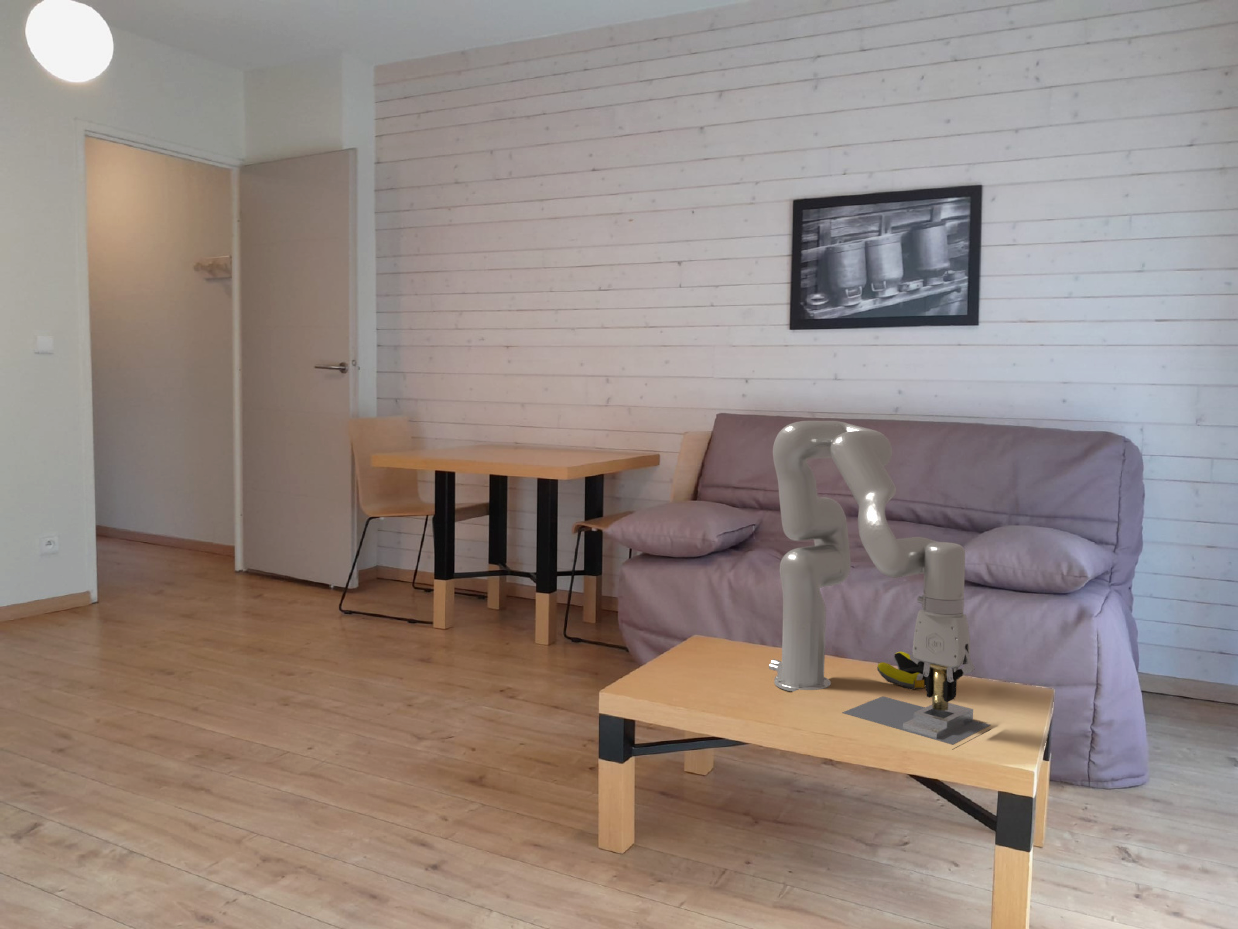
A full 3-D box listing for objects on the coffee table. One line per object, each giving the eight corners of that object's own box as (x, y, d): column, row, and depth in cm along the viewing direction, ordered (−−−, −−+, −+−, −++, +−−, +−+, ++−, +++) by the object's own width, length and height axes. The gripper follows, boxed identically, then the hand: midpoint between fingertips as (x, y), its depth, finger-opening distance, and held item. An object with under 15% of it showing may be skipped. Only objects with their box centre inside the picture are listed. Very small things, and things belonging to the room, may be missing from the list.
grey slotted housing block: (902, 729, 185) (903, 717, 185) (940, 712, 195) (940, 700, 195) (936, 739, 180) (936, 726, 180) (972, 720, 190) (973, 709, 190)
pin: (924, 708, 187) (925, 663, 186) (935, 703, 190) (936, 659, 190) (945, 713, 184) (946, 667, 183) (956, 708, 187) (957, 663, 186)
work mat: (841, 717, 194) (841, 712, 194) (882, 700, 205) (882, 696, 205) (952, 749, 177) (952, 744, 177) (990, 729, 188) (990, 724, 188)
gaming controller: (873, 686, 216) (917, 695, 210) (874, 663, 216) (918, 670, 210) (896, 671, 228) (938, 679, 222) (897, 649, 228) (939, 656, 222)
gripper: (895, 602, 189) (893, 692, 190) (974, 615, 177) (971, 712, 178) (914, 597, 194) (912, 685, 195) (992, 609, 182) (989, 703, 184)
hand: (940, 697), depth 187 cm, fingers closed on pin, 3 cm apart
